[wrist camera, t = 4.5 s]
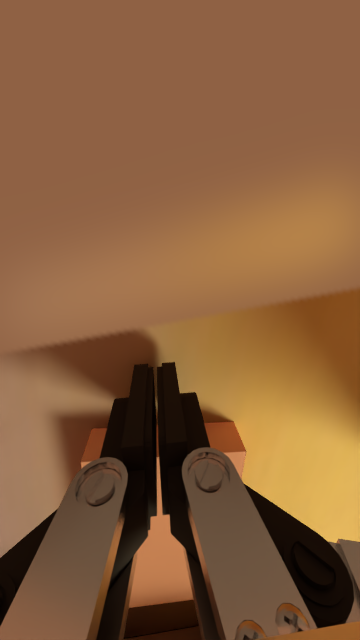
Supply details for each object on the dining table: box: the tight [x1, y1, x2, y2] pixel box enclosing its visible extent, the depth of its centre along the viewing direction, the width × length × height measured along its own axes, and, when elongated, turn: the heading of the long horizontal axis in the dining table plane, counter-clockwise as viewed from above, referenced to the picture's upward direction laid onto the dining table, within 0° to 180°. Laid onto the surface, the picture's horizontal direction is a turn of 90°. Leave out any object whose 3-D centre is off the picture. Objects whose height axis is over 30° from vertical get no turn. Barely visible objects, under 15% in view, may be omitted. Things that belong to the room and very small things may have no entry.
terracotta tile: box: [81, 422, 246, 608], centre depth 13 cm, size 12×7×2 cm, turn 178°
